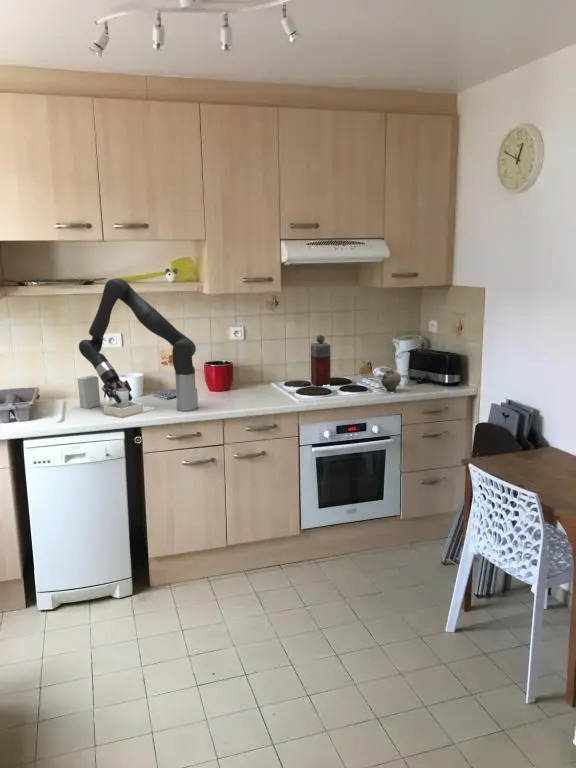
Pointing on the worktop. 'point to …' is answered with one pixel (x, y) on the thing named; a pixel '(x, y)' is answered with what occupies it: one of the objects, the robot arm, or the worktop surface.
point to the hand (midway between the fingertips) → (125, 401)
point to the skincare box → (89, 391)
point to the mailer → (125, 409)
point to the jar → (123, 398)
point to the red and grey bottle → (320, 362)
